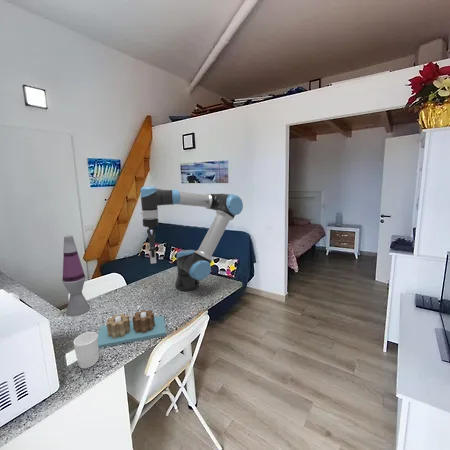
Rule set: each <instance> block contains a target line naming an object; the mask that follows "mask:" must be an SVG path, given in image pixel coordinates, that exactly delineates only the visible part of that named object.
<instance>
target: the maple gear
mask: <svg viewBox="0 0 450 450" xmlns="http://www.w3.org/2000/svg"><path fill="white" fill-rule="evenodd" d="M116 316H121V321H119V322H115V317H116ZM106 326H107V331H108V336H109V337H110V336H112V338H117V337H119V336H120V337H123V336H125V334H126V333H129V332H130V315H128V314H125V313H121V314H114V315H112V317H108V318H107V320H106Z"/></svg>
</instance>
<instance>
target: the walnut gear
mask: <svg viewBox="0 0 450 450" xmlns="http://www.w3.org/2000/svg"><path fill="white" fill-rule="evenodd" d="M141 312H146V317H144V318H141V314H140V313H141ZM154 317H155V312H153V311H152V310H150V309H148V310H145V309H142V310H141V311H137V312H134V315H132V321H133V328H134V330H135V332H136V333H139V332H142V333H146V331H148V330H149V331H151V330H153V327H154V326H155V323H154Z"/></svg>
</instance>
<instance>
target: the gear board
mask: <svg viewBox="0 0 450 450" xmlns="http://www.w3.org/2000/svg"><path fill="white" fill-rule="evenodd" d="M140 312H141V313H140V314H141V318H144V317H146V312H142V311H140ZM119 321H121V316H118V315H117V316H116V317H115V322H119ZM154 323H155V326H154V327H153V330H151V331H149V330H148V331H146V333H142V332H139V333H136V332H135V330H134V328H133V320H132V321H130V332H129V333H126V334H125V336H123V337H120V336H119V337H117V338H112V336H110V337H109V336H108V331H107V325H102V326H100V327H99V331H98V333H97V334H98V345H99V348H100V349H103V348H102V347H105V348H108V347H107V346H110V347H113V346H112V345H115V346H118V345H117V344H120V345H122V344H121V343H125V344H128V343H127V342H131V343H135V341H136V342H139V341H145V340H151V339H155V338H160V337H166V336H167V330H166V323H165V317H164V315H159V316H154Z"/></svg>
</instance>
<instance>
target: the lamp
mask: <svg viewBox="0 0 450 450" xmlns="http://www.w3.org/2000/svg"><path fill="white" fill-rule="evenodd" d="M62 250H63V251H62V252H63V261H62V280H61V281H62V283H63V285H64V287H65V289H66V290H67V292H68V294H69V299H68V304H67V306H66V307H67V308H66V310H65V311H66V316H69V317H74V316H75V317H76V316H80V315H84V314H85V313H88V312H89V310H90V309H91V308H90V304H89V303H88V301H87V300H86V298H85V296H84V294H83V289H84V285H85V281H86V274H85V271H84V268H83V266H82V263H81V259H80V255H79V253H78V249H77V245H76V243H75V239H74V236H73V235H72V234H71V235H69V234H68V235H65V236H64V237H63V249H62Z"/></svg>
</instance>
